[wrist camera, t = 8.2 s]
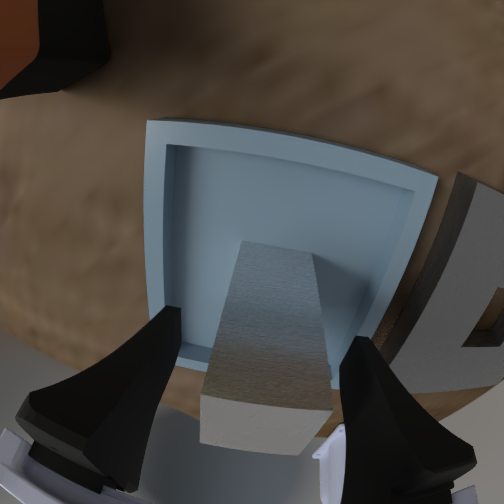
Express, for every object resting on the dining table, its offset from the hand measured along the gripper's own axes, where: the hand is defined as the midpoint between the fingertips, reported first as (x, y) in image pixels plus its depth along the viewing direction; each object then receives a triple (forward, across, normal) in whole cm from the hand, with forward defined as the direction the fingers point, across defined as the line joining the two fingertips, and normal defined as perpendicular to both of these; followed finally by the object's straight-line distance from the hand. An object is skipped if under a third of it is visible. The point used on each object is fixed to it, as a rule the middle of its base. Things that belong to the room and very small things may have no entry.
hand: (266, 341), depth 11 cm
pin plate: (+5, -17, 0) cm, 18 cm away
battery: (+6, +13, -13) cm, 19 cm away
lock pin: (+5, 0, 0) cm, 5 cm away
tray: (+5, 0, 0) cm, 5 cm away
